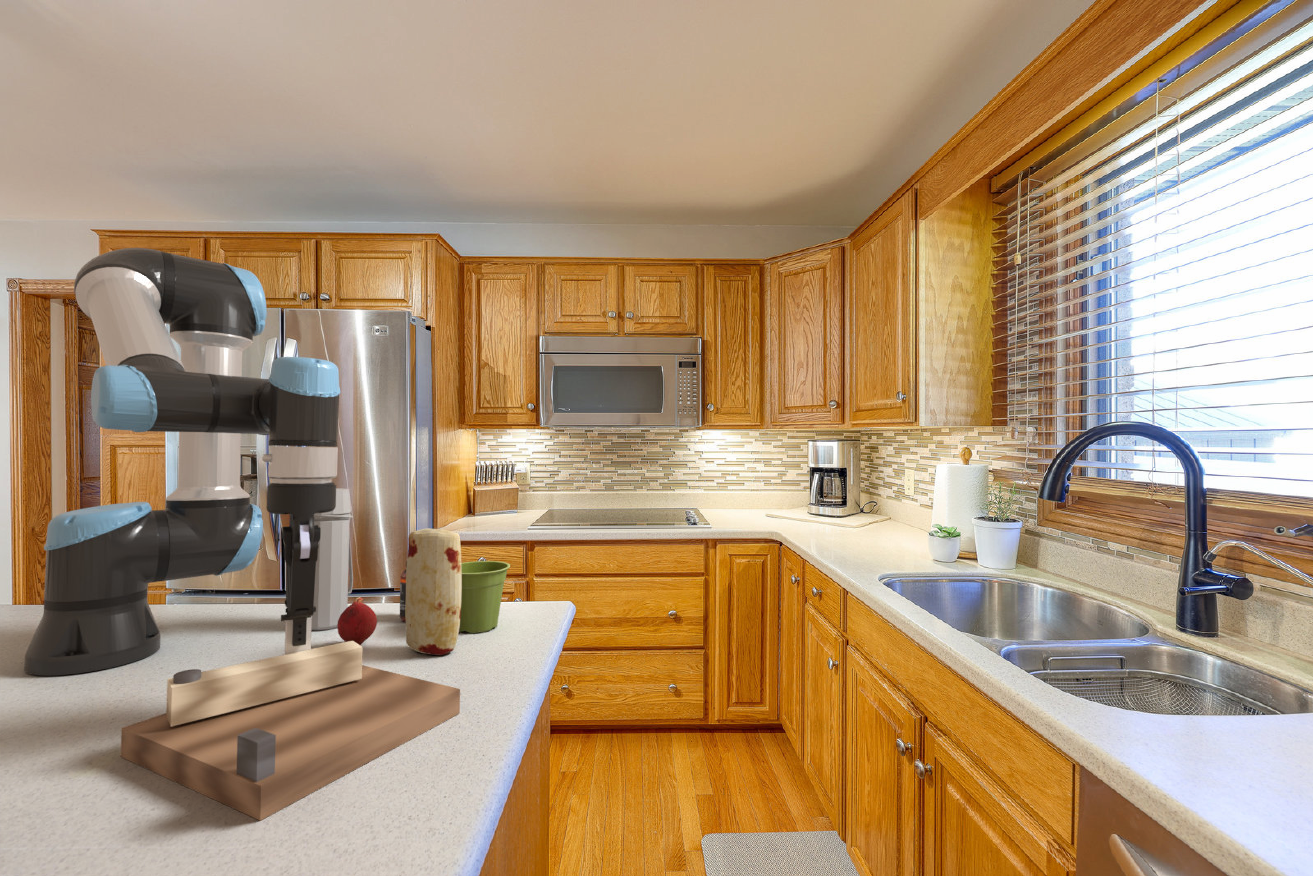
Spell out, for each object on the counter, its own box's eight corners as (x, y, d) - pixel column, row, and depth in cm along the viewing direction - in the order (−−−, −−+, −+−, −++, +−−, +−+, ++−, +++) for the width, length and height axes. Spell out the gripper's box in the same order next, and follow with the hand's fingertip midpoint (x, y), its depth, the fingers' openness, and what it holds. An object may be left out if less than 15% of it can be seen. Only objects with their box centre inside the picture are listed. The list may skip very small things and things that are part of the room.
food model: (393, 655, 94) (396, 528, 95) (421, 642, 101) (423, 524, 101) (447, 662, 92) (449, 531, 92) (471, 648, 98) (474, 526, 98)
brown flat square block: (120, 756, 63) (122, 694, 63) (331, 678, 84) (332, 632, 84) (260, 820, 52) (262, 746, 52) (459, 713, 74) (460, 660, 74)
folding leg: (170, 726, 62) (172, 681, 62) (166, 716, 65) (167, 672, 65) (361, 678, 76) (362, 641, 76) (352, 671, 78) (352, 635, 78)
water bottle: (323, 634, 104) (327, 491, 105) (291, 628, 107) (295, 489, 108) (366, 620, 113) (369, 488, 113) (335, 615, 116) (338, 487, 116)
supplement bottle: (439, 617, 116) (440, 558, 116) (415, 625, 110) (416, 564, 111) (417, 613, 118) (418, 556, 118) (392, 621, 113) (393, 561, 113)
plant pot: (484, 615, 117) (485, 558, 118) (522, 627, 110) (523, 566, 110) (428, 628, 108) (430, 566, 109) (466, 642, 101) (467, 576, 101)
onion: (359, 653, 95) (360, 603, 95) (328, 651, 96) (329, 601, 96) (383, 642, 100) (384, 594, 101) (353, 639, 102) (354, 592, 102)
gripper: (265, 478, 78) (259, 659, 78) (269, 484, 68) (262, 693, 67) (330, 478, 83) (325, 649, 82) (343, 483, 72) (337, 679, 71)
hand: (297, 668), depth 75 cm, fingers closed
